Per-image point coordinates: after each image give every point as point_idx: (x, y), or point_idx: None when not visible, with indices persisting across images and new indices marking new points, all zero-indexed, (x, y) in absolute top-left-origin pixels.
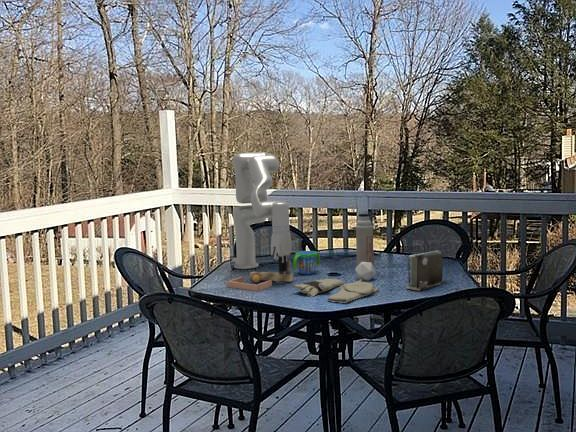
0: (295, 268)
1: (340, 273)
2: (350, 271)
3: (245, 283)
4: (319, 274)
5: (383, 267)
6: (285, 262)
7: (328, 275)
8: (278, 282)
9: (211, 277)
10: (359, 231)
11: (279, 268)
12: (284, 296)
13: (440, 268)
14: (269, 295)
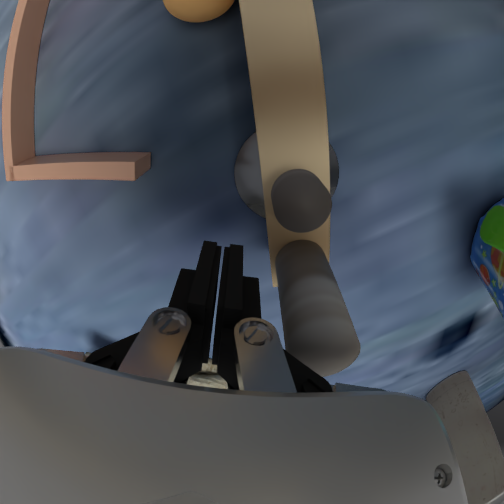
0: (483, 220)
1: (461, 345)
2: (476, 352)
3: (8, 80)
4: (466, 294)
5: (485, 380)
6: (217, 367)
7: (443, 330)
8: (239, 171)
9: None
10: (469, 500)
11: (180, 271)
12: (52, 318)
13: None
14: (23, 263)
